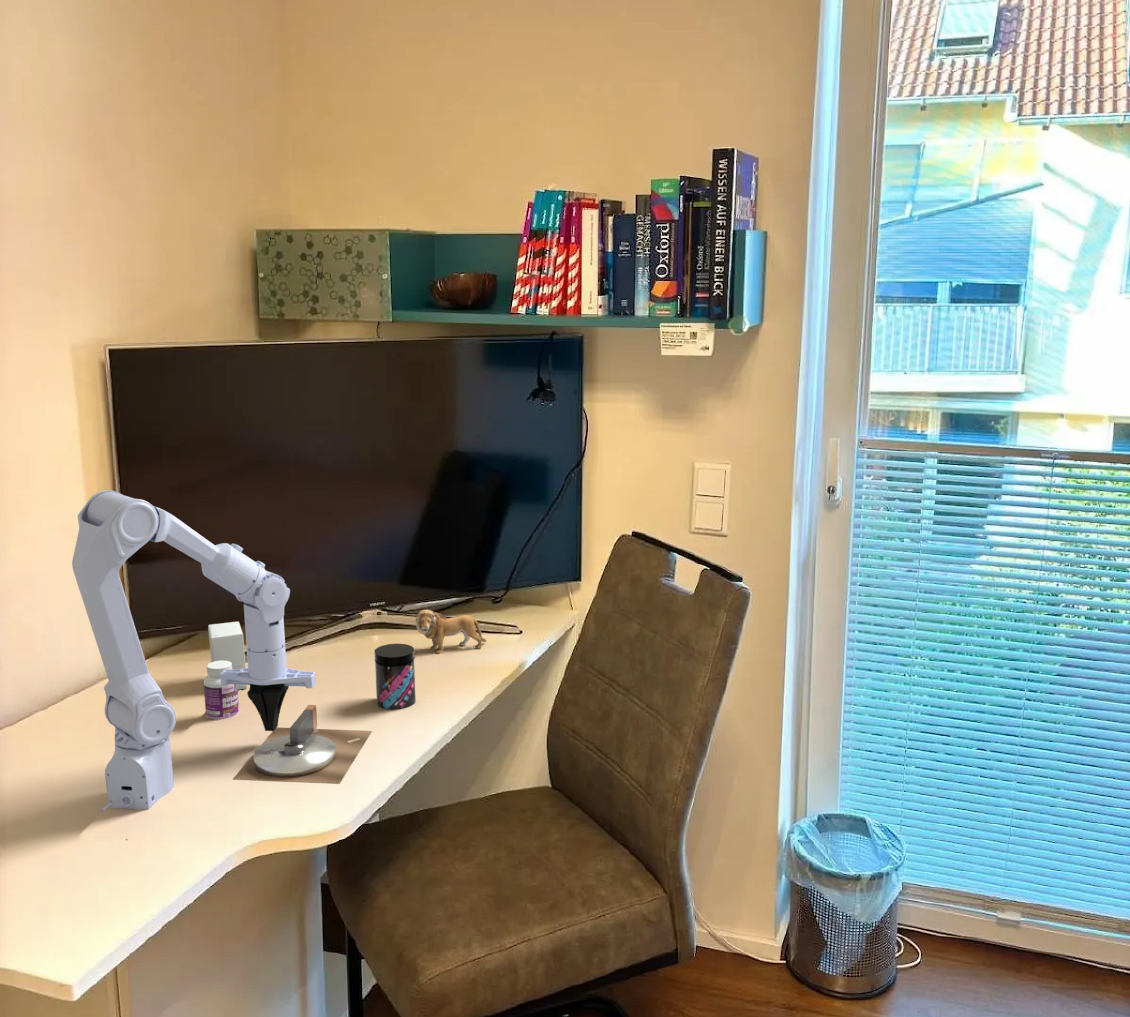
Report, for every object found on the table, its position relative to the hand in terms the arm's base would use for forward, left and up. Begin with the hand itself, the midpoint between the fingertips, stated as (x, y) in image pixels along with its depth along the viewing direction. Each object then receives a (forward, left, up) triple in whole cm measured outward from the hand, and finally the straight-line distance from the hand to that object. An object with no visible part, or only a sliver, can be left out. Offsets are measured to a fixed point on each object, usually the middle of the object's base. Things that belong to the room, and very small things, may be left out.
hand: (271, 728), depth 165 cm
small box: (+26, +18, -4) cm, 32 cm away
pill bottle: (+11, +13, -4) cm, 17 cm away
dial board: (-3, -6, -4) cm, 8 cm away
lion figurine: (+47, -19, -4) cm, 51 cm away
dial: (-4, -5, -2) cm, 7 cm away
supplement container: (+18, -15, -4) cm, 24 cm away
